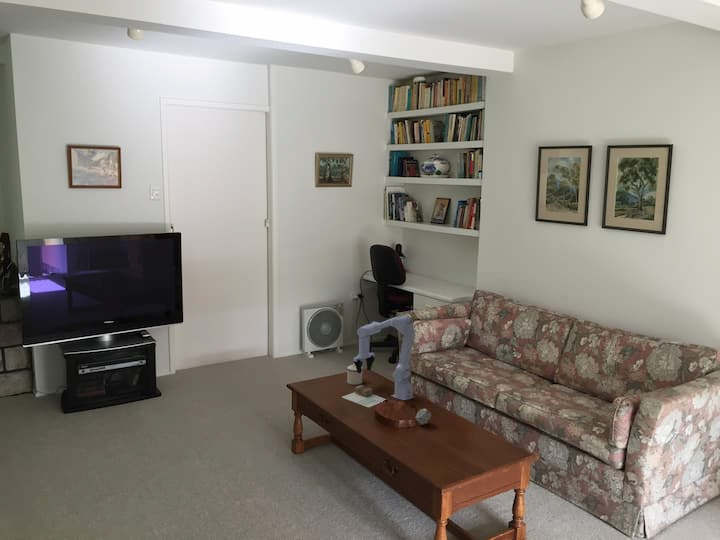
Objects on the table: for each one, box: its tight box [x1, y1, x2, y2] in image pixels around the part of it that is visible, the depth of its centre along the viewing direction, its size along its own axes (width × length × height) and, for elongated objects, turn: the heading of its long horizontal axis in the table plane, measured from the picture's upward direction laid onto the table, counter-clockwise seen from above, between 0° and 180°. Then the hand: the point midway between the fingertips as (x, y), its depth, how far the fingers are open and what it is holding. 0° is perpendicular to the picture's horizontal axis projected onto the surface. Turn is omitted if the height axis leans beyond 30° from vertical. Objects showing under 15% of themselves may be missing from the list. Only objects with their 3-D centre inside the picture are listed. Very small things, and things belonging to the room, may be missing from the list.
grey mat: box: [341, 391, 386, 408], centre depth 328 cm, size 20×15×1 cm
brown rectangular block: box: [354, 384, 373, 397], centre depth 333 cm, size 8×5×4 cm, turn 46°
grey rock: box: [412, 406, 434, 427], centre depth 296 cm, size 9×8×10 cm
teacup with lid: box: [346, 362, 364, 386], centre depth 353 cm, size 12×9×12 cm
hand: (364, 371), depth 343 cm, fingers open, 7 cm apart
